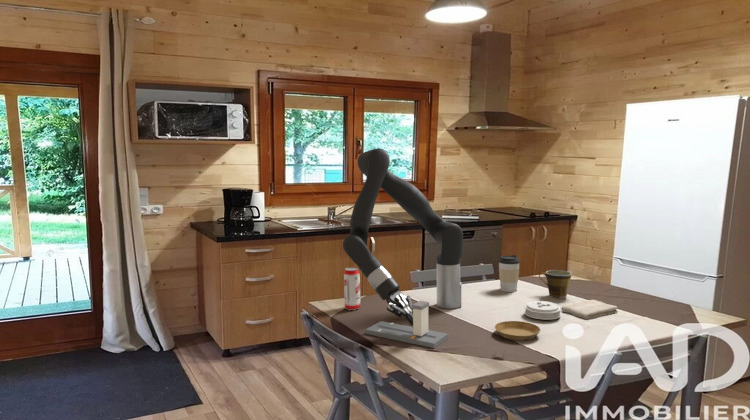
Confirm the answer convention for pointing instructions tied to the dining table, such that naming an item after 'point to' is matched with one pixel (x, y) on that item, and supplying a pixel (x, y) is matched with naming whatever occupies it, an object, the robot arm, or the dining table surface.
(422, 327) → the fader tab
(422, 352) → the dining table surface
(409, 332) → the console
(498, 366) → the dining table surface
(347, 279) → the beer can
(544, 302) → the lid
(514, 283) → the coffee cup
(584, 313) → the washcloth
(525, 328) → the plant saucer
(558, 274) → the ceramic cup
